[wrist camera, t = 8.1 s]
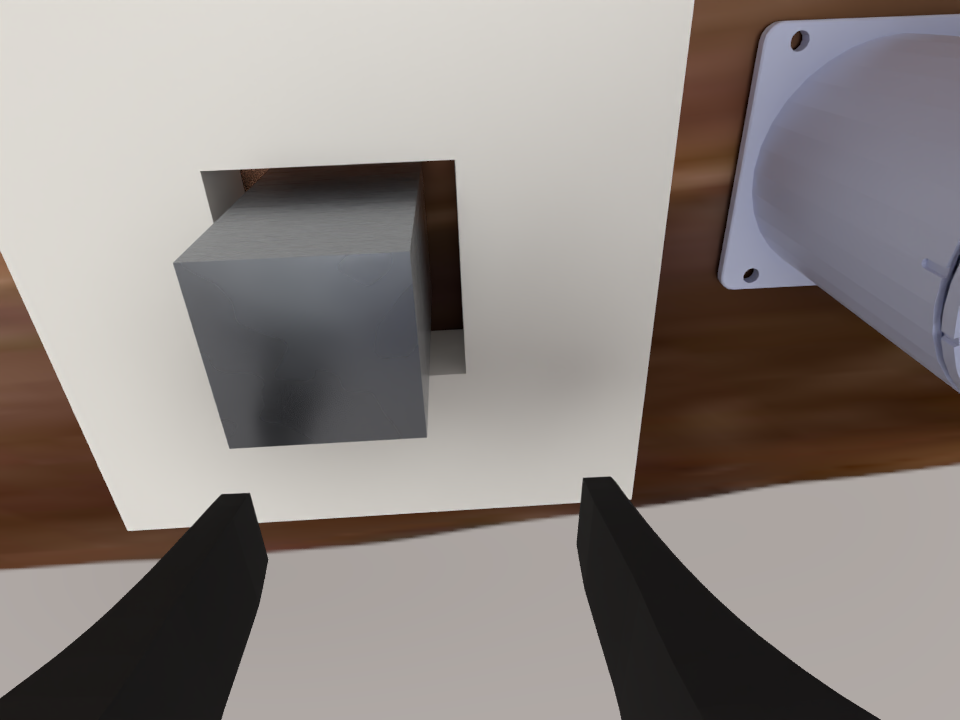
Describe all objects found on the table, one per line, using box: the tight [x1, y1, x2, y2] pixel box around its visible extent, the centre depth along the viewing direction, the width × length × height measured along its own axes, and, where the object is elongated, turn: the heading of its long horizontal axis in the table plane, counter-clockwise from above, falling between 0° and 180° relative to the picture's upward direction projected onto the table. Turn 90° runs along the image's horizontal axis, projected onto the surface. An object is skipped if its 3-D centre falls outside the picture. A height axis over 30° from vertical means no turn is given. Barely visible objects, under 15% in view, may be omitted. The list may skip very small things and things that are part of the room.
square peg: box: [173, 161, 432, 449], centre depth 16 cm, size 4×4×8 cm
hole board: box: [0, 0, 694, 531], centre depth 19 cm, size 18×18×3 cm
